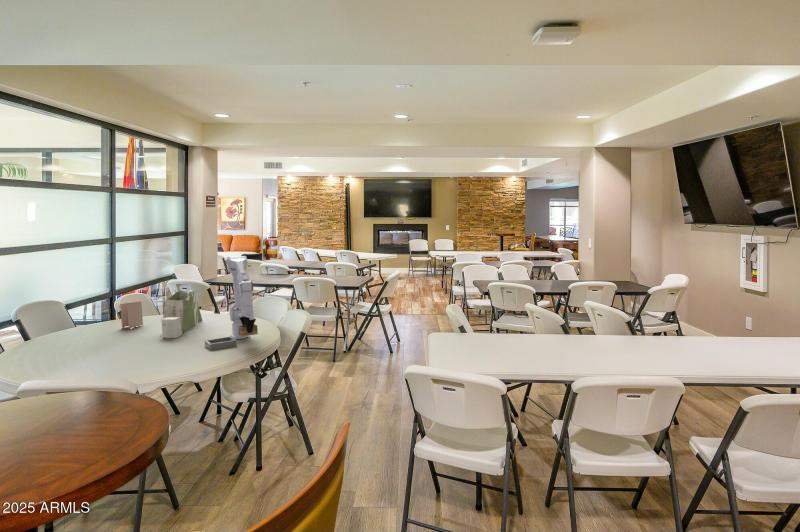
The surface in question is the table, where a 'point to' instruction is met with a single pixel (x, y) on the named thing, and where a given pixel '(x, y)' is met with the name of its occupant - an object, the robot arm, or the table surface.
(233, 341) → the big crate
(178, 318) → the small box
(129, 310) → the pink upright box
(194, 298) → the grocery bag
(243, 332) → the small crate
